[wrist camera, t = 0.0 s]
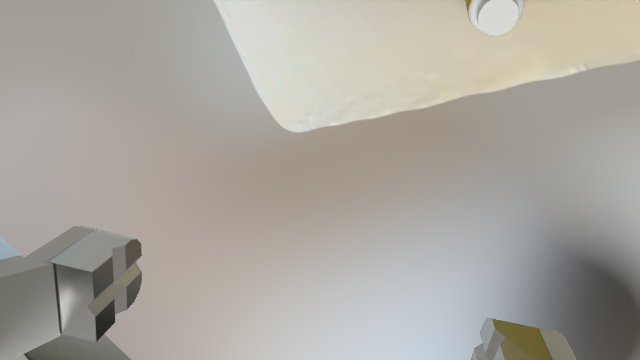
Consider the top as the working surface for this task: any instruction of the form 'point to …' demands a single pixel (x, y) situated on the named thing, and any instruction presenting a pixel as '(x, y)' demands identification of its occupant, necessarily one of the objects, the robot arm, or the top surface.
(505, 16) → the supplement bottle
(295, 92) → the top surface
